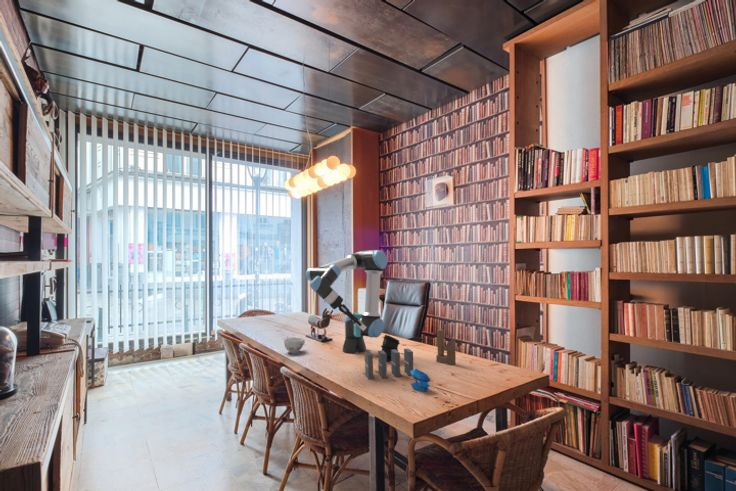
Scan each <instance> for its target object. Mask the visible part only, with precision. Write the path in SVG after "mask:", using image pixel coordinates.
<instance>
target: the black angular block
mask: <svg viewBox="0 0 736 491" xmlns="http://www.w3.org/2000/svg"><path fill="white" fill-rule="evenodd" d="M382 338H383V339H382V340H383V341H382V344H381V345H380V347H381V350H383V351H384V352H385V353H386V354H387V363H389V362H391V350H394V349H396V350H397V351H398V352H399V348H398V347H399V345H400V343H401V342H400V340H399V339H396V338H395V337H392V336H390V335H388V334H385V335H384V336H383V337H382Z"/></svg>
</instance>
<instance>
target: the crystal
mask: <svg viewBox="0 0 736 491" xmlns="http://www.w3.org/2000/svg"><path fill="white" fill-rule="evenodd" d="M410 373H411V375H412V376H411V377H412V378H413V379H414V380H415V381H413V382H411V383H410V386H411V388H412V389H413V390H415V391H419V392H427V391H429V390H430V388H429V387H430V384H429V382H430V383H431V381H432V380H431V379H430V377H429V375H428V374H427V373H426V372H423V371H421V370H420V369H418V368H413V370H411V371H410Z"/></svg>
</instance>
